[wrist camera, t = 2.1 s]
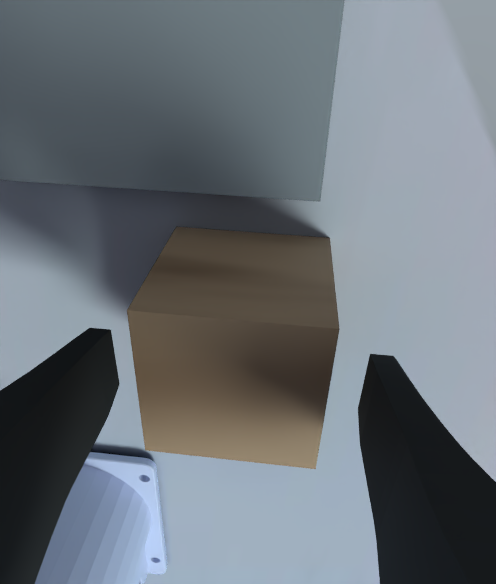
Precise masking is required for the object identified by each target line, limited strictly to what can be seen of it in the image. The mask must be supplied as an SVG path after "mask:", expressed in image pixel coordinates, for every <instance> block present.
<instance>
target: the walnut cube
mask: <svg viewBox="0 0 496 584" xmlns="http://www.w3.org/2000/svg"><path fill="white" fill-rule="evenodd" d="M127 314H128V322H129V329H130V337H131V345H132V352H133V360H134V368H135V375H136V383H137V390H138V398H139V406H140V413H141V421H142V428H143V436H144V444H145V450H148V451H157V452H166V453H175V454H184V455H193V456H202V457H211V458H220V459H229V460H238V461H247V462H256V463H266V464H275V465H284V466H293V467H302V468H311V469H316V463H317V457H318V451H319V445H320V439H321V433H322V428H323V422H324V416H325V410H326V404H327V398H328V392H329V386H330V381H331V375H332V369H333V363H334V357H335V351H336V345H337V339H338V334H339V322H338V312H337V303H336V293H335V283H334V274H333V264H332V255H331V245H330V238H325V237H311V236H297V235H284V234H270V233H256V232H243V231H229V230H215V229H202V228H188V227H176V228H175V230H174V232H173V233H172V235H171V237H170V238H169V240H168V242H167V243H166V245H165V247H164V248H163V250H162V252H161V254H160V255H159V257H158V259H157V260H156V262H155V264H154V265H153V267H152V269H151V270H150V272H149V274H148V276H147V277H146V279H145V281H144V282H143V284H142V286H141V287H140V289H139V291H138V293H137V294H136V296H135V298H134V299H133V301H132V303H131V304H130V306H129V308H128V309H127Z"/></svg>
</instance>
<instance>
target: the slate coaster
mask: <svg viewBox="0 0 496 584" xmlns="http://www.w3.org/2000/svg"><path fill="white" fill-rule="evenodd" d="M343 7H344V0H0V180H8V181H22V182H37V183H52V184H67V185H82V186H97V187H111V188H126V189H141V190H156V191H171V192H186V193H200V194H215V195H230V196H245V197H260V198H275V199H289V200H304V201H319V202H320V198H321V190H322V182H323V174H324V165H325V157H326V149H327V140H328V132H329V124H330V115H331V107H332V99H333V90H334V82H335V74H336V65H337V57H338V49H339V41H340V32H341V24H342V16H343Z"/></svg>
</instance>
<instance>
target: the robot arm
mask: <svg viewBox="0 0 496 584" xmlns="http://www.w3.org/2000/svg"><path fill="white" fill-rule="evenodd" d="M118 386H119V379H118V372H117V366H116V360H115V354H114V347H113V341H112V335H111V330H107V329H97V328H89V329H87V330H86V331H85V332H83V333H82V334H80V335H79V336H78V337H76V338H75V339H73V340H72V341H71V342H69V343H68V344H67V345H65V346H64V347H63V348H61V349H60V350H59V351H57V352H56V353H55V354H53V355H52V356H50V357H49V358H48V359H46V360H45V361H43V362H42V363H41V364H39V365H38V366H37V367H35V368H34V369H32V370H31V371H30V372H28V373H27V374H25V375H23V376H22V377H20V378H19V379H17V380H16V381H14V382H13V383H11V384H10V385H8V386H7V387H5V388H4V389H2V390H1V391H0V584H145V580H146V577H147V573H152V574H163V573H165V572H166V568H167V557H166V548H165V539H164V530H163V522H162V513H161V504H160V495H159V487H158V478H157V469H156V465H155V463H154V462H153V461H152V460H150V459H148V458H141V457H132V456H123V455H114V454H105V453H96V452H90V451H91V449H92V447H93V445H94V443H95V441H96V439H97V437H98V435H99V433H100V431H101V429H102V427H103V425H104V423H105V421H106V419H107V417H108V415H109V412H110V410H111V407H112V404H113V401H114V398H115V395H116V392H117V389H118ZM358 416H359V435H360V446H361V452H362V457H363V463H364V469H365V474H366V480H367V486H368V491H369V497H370V502H371V508H372V513H373V519H374V525H375V532H376V540H377V551H378V564H379V576H380V584H496V482H495V481H494V480H493V479H492V478H491V477H490V476H489V475H488V474H487V473H486V472H485V471H484V470H483V469H482V468H481V467H480V466H479V465H478V464H477V463H476V462H475V461H474V460H473V459H472V458H471V457H470V456H469V455H468V454H467V452H466V451H465V450H464V449H463V448H462V447H461V446H460V444H459V443H458V442H457V441H456V440H455V439H454V437H453V436H452V435H451V434H450V433H449V432H448V430H447V429H446V428H445V427H444V425H443V424H442V423H441V422H440V420H439V419H438V418H437V416H436V415H435V414H434V412H433V411H432V410H431V409H430V407H429V406H428V405H427V403H426V402H425V401H424V399H423V398H422V396H421V395H420V394H419V392H418V391H417V389H416V388H415V387H414V385H413V384H412V382H411V381H410V379H409V378H408V376H407V375H406V373H405V372H404V370H403V369H402V367H401V366H400V364H399V363H398V361H397V360H396V359H395V357H394V356H387V355H376V354H370V357H369V362H368V366H367V371H366V375H365V380H364V384H363V389H362V393H361V398H360V402H359V407H358Z"/></svg>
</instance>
